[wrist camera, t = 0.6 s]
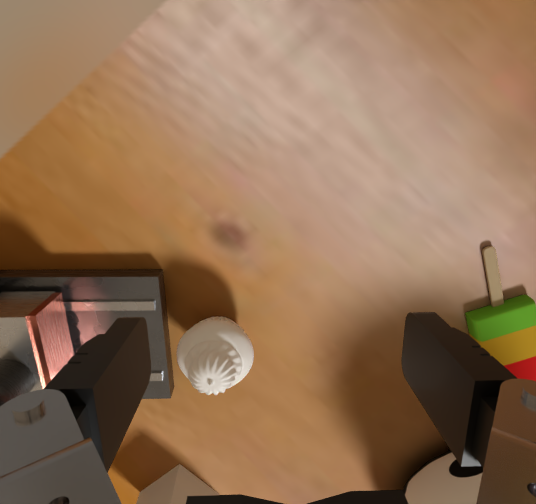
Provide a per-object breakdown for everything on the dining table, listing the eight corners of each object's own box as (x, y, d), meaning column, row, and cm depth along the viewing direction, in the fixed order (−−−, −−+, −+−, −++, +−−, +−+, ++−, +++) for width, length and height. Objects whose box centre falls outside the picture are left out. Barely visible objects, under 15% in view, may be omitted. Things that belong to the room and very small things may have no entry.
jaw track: (-28, 270, 31) (-92, 305, 25) (162, 269, 31) (141, 303, 25) (6, 388, 35) (-43, 441, 29) (174, 387, 35) (158, 438, 30)
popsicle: (477, 387, 37) (488, 401, 35) (449, 254, 32) (461, 262, 30) (533, 371, 36) (548, 384, 35) (514, 232, 31) (530, 239, 30)
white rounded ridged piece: (253, 360, 34) (252, 419, 28) (186, 360, 34) (169, 418, 28) (254, 300, 32) (253, 348, 26) (183, 299, 32) (164, 347, 26)
